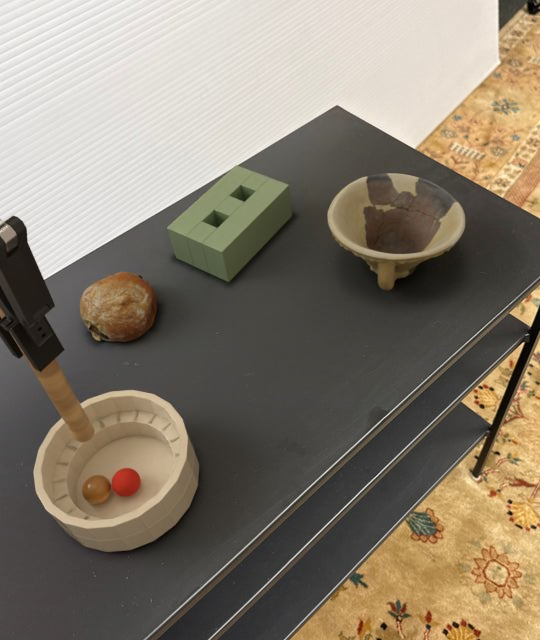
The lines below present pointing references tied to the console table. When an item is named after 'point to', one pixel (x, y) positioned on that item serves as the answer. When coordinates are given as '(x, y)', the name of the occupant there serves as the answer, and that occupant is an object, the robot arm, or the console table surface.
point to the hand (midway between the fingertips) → (38, 352)
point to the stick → (63, 399)
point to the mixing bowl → (109, 457)
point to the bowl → (395, 223)
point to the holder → (231, 222)
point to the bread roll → (118, 307)
